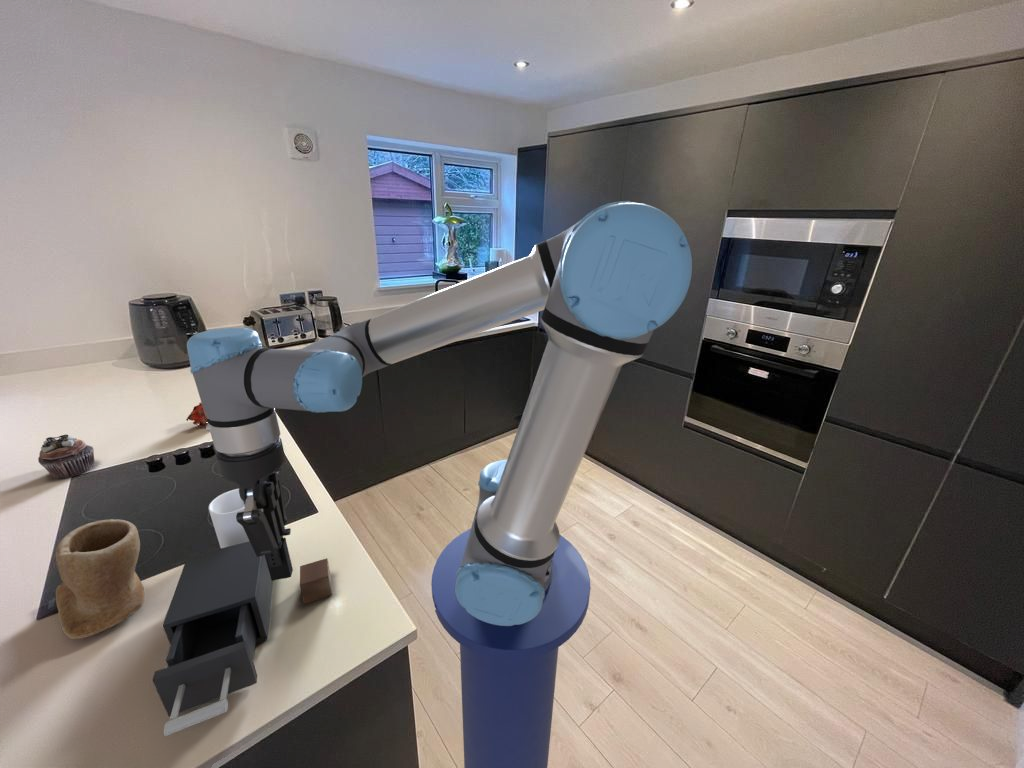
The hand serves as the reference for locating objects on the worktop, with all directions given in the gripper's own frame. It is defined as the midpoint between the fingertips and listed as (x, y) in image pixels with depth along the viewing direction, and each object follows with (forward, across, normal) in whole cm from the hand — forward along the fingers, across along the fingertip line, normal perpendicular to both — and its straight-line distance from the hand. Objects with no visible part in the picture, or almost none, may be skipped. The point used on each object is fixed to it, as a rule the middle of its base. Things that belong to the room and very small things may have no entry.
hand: (282, 575), depth 62 cm
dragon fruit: (+10, -85, -40) cm, 94 cm away
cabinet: (+10, -4, -10) cm, 15 cm away
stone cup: (+10, -12, -31) cm, 35 cm away
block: (+10, -6, +3) cm, 12 cm away
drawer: (+9, +7, -8) cm, 14 cm away
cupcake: (+10, -63, -64) cm, 90 cm away
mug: (+10, -22, -12) cm, 27 cm away
